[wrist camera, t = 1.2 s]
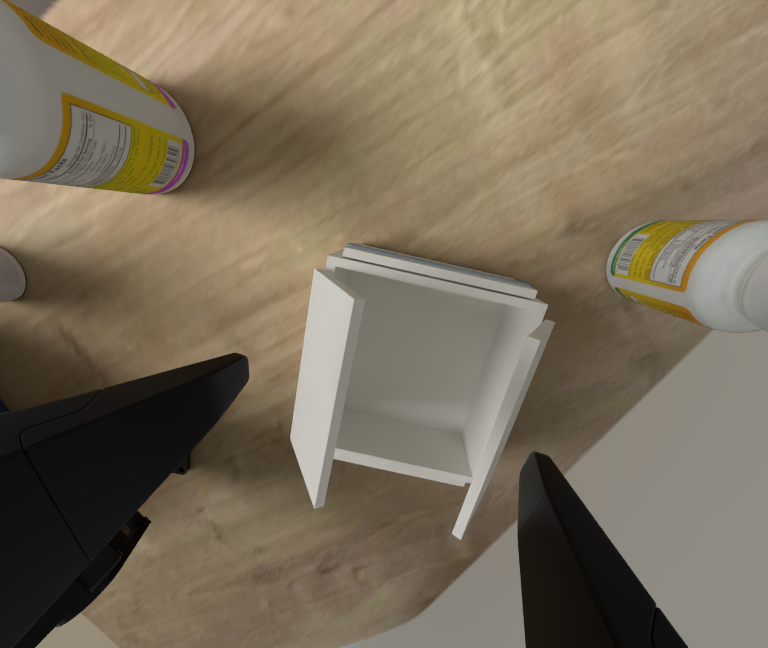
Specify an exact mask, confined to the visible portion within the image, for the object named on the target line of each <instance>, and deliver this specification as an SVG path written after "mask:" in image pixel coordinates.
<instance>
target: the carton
mask: <svg viewBox="0 0 768 648" xmlns="http://www.w3.org/2000/svg"><path fill="white" fill-rule="evenodd" d="M326 272H328V273H329V274H330V275H332V276H333V277H334V278H336V279H337V280H339V281H340V282H341V283H343V284H344V285H345V286H347V287H348V288H349V289H351V290H352V291H354V292H355V293H356V294H358V295H359V296H360V297H362V298H363V299H365V304H364V309H363V314H362V319H361V324H360V329H359V334H358V339H357V343H356V348H355V353H354V358H353V363H352V368H351V373H350V378H349V383H348V388H347V393H346V398H345V403H344V408H343V413H342V418H341V423H340V428H339V433H338V438H337V443H336V448H335V453H334V458H333V459H336V460H341V461H346V462H350V463H355V464H360V465H364V466H369V467H373V468H378V469H383V470H387V471H392V472H397V473H401V474H406V475H411V476H415V477H420V478H425V479H429V480H434V481H439V482H443V483H448V484H453V485H457V486H462V487H464V485H465V482H467V483H472V480H473V478H474V475H475V472H476V470H477V467H478V465H479V462H480V459H481V457H482V454H483V452H484V449H485V446H486V444H487V441H488V439H489V436H490V434H491V431H492V428H493V426H494V423H495V421H496V418H497V415H498V413H499V410H500V408H501V405H502V402H503V400H504V397H505V395H506V392H507V389H508V387H509V384H510V382H511V379H512V376H513V374H514V371H515V369H516V366H517V364H518V361H519V358H520V356H521V353H522V351H523V348H524V345H525V343H526V340H527V338H528V336H529V335H530V334H531V333H532V332H533V331H534V330H535V329H536V328H537V327H538V326H539V325H540V324H541V323H542V320H543V317H544V315H545V312H546V310H547V307H548V304H546V303H544V302H542V301H541V300H540V299H538V298H536V294H537V292H538V291H537V290H535V289H533V288H531V285H529V284H526V283H524V282H521V281H516V280H514V279H512V278H509V277H504V276H500V275H496V274H491V273H487V272H482V271H478V270H473V269H469V268H464V267H460V266H456V265H451V264H447V263H442V262H438V261H433V260H429V259H425V258H420V257H416V256H411V255H407V254H402V253H398V252H394V251H389V250H385V249H380V248H376V247H371V246H367V245H362V244H358V243H354V244H352V243H349V244H347V246H346V247H344V249H342V250H340V251H338V252H335V253H333V254H330V255H328V259H327V265H326Z"/></svg>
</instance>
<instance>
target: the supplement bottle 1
mask: <svg viewBox="0 0 768 648" xmlns="http://www.w3.org/2000/svg"><path fill="white" fill-rule="evenodd" d="M193 161H194V140H193V135H192V131H191V128H190V125H189V123H188V120H187V118H186V116H185V114H184V113H183V111H182V109H181V108H180V107H179V105H178V104H177V103H176V101H175V100H174V99H173V98H172V97H171V96H170V95H169V94H168V93H167V92H166V91H164V90H163V89H162V88H160V87H159V86H157V85H156V84H154V83H152V82H151V81H149V80H147V79H146V78H144V77H142V76H140V75H139V74H137V73H135V72H133V71H131V70H130V69H128V68H126V67H124V66H123V65H121V64H119V63H117V62H115V61H114V60H112V59H110V58H108V57H107V56H105V55H103V54H101V53H99V52H98V51H96V50H94V49H92V48H90V47H89V46H87V45H85V44H83V43H82V42H80V41H78V40H76V39H74V38H73V37H71V36H69V35H67V34H66V33H64V32H62V31H60V30H58V29H56V28H55V27H53V26H51V25H49V24H48V23H46V22H44V21H42V20H41V19H39V18H37V17H35V16H34V15H32V14H30V13H28V12H26V11H25V10H23V9H21V8H19V7H18V6H16V5H14V4H12V3H11V2H9V1H7V0H0V178H2V179H11V180H21V181H31V182H40V183H49V184H58V185H67V186H76V187H84V188H93V189H103V190H112V191H121V192H129V193H139V194H163V193H166V192H169V191H171V190H173V189H175V188H177V187H178V186H179V185H180V184H182V183H183V182H184V180H185V179H186V178H187V176H188V175H189V173H190V170H191V168H192V165H193Z"/></svg>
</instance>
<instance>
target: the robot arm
mask: <svg viewBox="0 0 768 648" xmlns="http://www.w3.org/2000/svg"><path fill="white" fill-rule="evenodd" d="M248 380H249V364H248V358H247V357H246V356H245V355H242V354H239V353H232V354H228V355H224V356H221V357H217V358H213V359H210V360H206V361H202V362H199V363H195V364H191V365H187V366H184V367H180V368H176V369H173V370H169V371H165V372H162V373H158V374H154V375H151V376H147V377H143V378H140V379H136V380H132V381H129V382H125V383H121V384H118V385H114V386H110V387H107V388H104V389H103V390H102V389H99V390H96V391H92V392H88V393H85V394H81V395H77V396H73V397H69V398H65V399H62V400H58V401H53V402H49V403H45V404H40V405H36V406H32V407H27V408H23V409H19V410H14V411H10V412H5V413H1V414H0V648H35V647H36V646H37V645H38V644H39V643H40V642H41V641H42V640H43V639H44V638H45V637H46V636H47V635H48V634H49V633H50V632H51V630H53V629H54V628H55V627H59V626H62V625H63V624H65V623H67V622H68V621H70V620H71V619H73V618H74V617H75V616H76V615H78V614H79V613H80V612H81V611H83V610H84V609H85V608H86V607H87V606H88V605H89V604H90V603H91V602H92V601H93V600H94V599H95V598H96V597H97V596H98V595H99V594H100V593H101V592H102V591H103V590H104V589H105V588H106V587H107V586H108V585H109V583H110V582H111V581H112V580H113V579H114V577H115V576H116V575H117V573H118V572H119V570H120V569H121V567H122V566H123V564H124V563H125V561H126V560H127V558H128V557H129V555H130V554H131V552H132V551H133V549H134V547H135V546H136V544H137V543H138V541H139V540H140V538H141V537H142V535H143V534H144V532H145V530H146V529H147V527H148V526H149V524H150V523H151V521H150V520H149V519H148V518H147V517H144V516H143V515H142V514H141V513H140V512H139V511H138V509H139V508H140V507H141V506H142V505H143V503H144V502H145V501H146V500H147V499H148V498H149V497H150V496H151V495H152V494H153V492H154V491H155V490H156V489H157V488H158V487H159V486H160V485H161V484H162V483H163V481H164V480H165V479H166V478H167V477H168V476H169V475H170V474H171V473H176V474H181V475H184V474H186V473H187V472H188V470H189V468H190V452H191V451H192V450H193V448H194V447H195V446H196V445H197V444H198V443H199V442H200V441H201V440H202V439H203V437H204V436H205V435H206V434H207V433H208V432H209V431H210V430H211V429H212V428H213V426H214V425H215V424H216V423H217V422H218V421H219V419H220V418H221V417H222V416H223V414H224V413H225V412H226V410H227V409H228V408H229V406H230V405H231V404H232V402H233V401H234V400H235V398H236V397H237V396H238V394H239V393H240V392H241V390H242V389H243V388H244V386H245V385H246V384H247V382H248ZM518 550H519V563H520V575H521V588H522V602H523V616H524V629H525V642H526V648H688V646H687V645H686V644H685V642H684V641H683V640H682V638H681V637H680V636H679V634H678V633H677V632H676V630H675V629H674V628H673V626H672V625H671V624H670V622H669V621H668V620H667V618H666V616H665V615H664V614H663V612H662V611H661V610H660V608H658V607H656V603H655V601H654V600H653V599H652V597H651V596H650V595H649V593H648V592H647V590H646V589H645V588H644V586H643V585H642V583H641V582H640V581H639V580H638V578H637V577H636V575H635V574H634V573H633V571H632V570H631V568H630V567H629V566H628V564H627V563H626V561H625V560H624V559H623V557H622V556H621V555H620V553H619V552H618V550H617V549H616V548H615V546H614V545H613V544H612V542H611V541H610V539H609V538H608V537H607V535H606V534H605V532H604V531H603V530H602V528H601V527H600V526H599V524H598V523H597V521H596V520H595V519H594V517H593V516H592V515H591V513H590V512H589V510H588V509H587V508H586V506H585V505H584V503H583V502H582V501H581V499H580V498H579V497H578V495H577V494H576V492H575V491H574V490H573V488H572V487H571V486H570V484H569V483H568V481H567V480H566V479H565V477H564V476H563V474H562V473H561V472H560V470H559V469H558V468H557V466H556V465H555V463H554V462H553V461H552V459H551V458H550V457H549V456H547V455H545V454H542V453H539V452H535V451H534V452H532V453H531V454H530V455H529V457H528V459H527V461H526V462H525V464H524V466H523V468H522V470H521V472H520V477H519V503H518Z"/></svg>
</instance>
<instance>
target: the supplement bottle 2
mask: <svg viewBox="0 0 768 648" xmlns="http://www.w3.org/2000/svg"><path fill="white" fill-rule="evenodd" d="M606 273H607V279H608V282H609V284H610V286H611V287H612V289H613V290H614V291H615V292H616V293H617V294H618V295H620V296H621V297H623V298H625V299H627V300H630V301H633V302H636V303H639V304H642V305H645V306H648V307H651V308H653V309H656V310H659V311H662V312H665V313H668V314H671V315H674V316H677V317H680V318H683V319H686V320H689V321H692V322H695V323H698V324H700V325H703V326H706V327H709V328H712V329H715V330H719V331H724V332H732V333H746V332H753V331H759V330H765V331H768V220H709V221H654V222H648V223H645V224H642V225H640V226H638V227H636V228H634V229H632V230H630V231H629V232H627V233H626V234H625V235H624V236H623V237H622V238H621V239H620V240H619V241H618V242H617V243H616V244H615V246H614V247H613V249H612V251H611V253H610V255H609V258H608V261H607V267H606Z"/></svg>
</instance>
